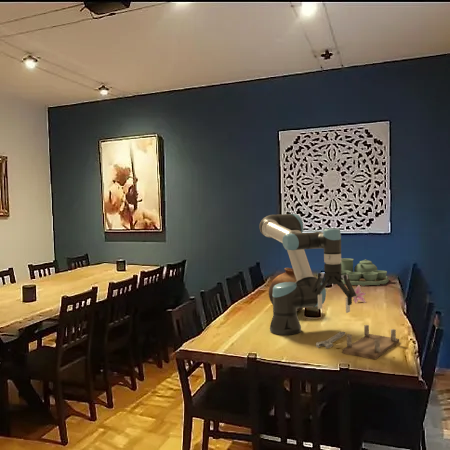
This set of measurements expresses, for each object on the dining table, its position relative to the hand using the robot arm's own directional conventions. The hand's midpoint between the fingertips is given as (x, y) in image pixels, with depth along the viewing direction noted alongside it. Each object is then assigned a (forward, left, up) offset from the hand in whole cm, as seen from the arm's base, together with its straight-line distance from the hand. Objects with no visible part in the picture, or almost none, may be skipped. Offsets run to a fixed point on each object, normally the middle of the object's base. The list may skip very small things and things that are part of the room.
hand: (333, 310), depth 207 cm
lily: (-25, +80, -14) cm, 85 cm away
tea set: (-51, +148, -15) cm, 157 cm away
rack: (+17, +1, -14) cm, 22 cm away
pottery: (-46, +37, -14) cm, 61 cm away
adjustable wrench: (0, 0, -15) cm, 15 cm away
